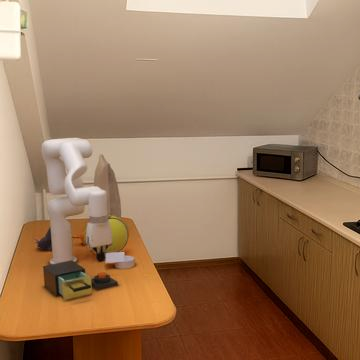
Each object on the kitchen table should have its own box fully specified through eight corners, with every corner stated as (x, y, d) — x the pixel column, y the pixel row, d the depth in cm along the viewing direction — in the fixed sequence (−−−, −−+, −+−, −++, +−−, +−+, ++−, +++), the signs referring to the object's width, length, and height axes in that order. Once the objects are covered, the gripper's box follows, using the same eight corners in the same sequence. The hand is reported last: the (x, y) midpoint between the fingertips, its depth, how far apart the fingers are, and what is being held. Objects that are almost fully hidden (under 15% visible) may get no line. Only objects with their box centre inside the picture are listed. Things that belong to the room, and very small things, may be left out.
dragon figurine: (87, 231, 291) (38, 226, 279) (83, 253, 291) (34, 249, 280) (84, 226, 300) (36, 221, 289) (80, 248, 301) (32, 244, 290)
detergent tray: (96, 296, 220) (95, 279, 219) (69, 303, 213) (67, 285, 212) (79, 283, 235) (78, 267, 233) (52, 290, 228) (51, 273, 226)
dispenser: (86, 289, 230) (85, 268, 229) (56, 296, 223) (55, 275, 221) (73, 280, 242) (72, 260, 240) (44, 286, 234) (42, 266, 233)
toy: (77, 253, 280) (73, 195, 275) (116, 246, 293) (114, 190, 288) (95, 265, 262) (91, 203, 256) (136, 256, 274) (134, 197, 269)
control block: (117, 285, 234) (117, 277, 234) (97, 290, 229) (97, 282, 228) (106, 278, 243) (106, 271, 242) (87, 283, 238) (86, 275, 237)
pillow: (125, 240, 302) (121, 162, 295) (99, 243, 298) (94, 164, 291) (116, 222, 343) (112, 153, 336) (93, 224, 339) (89, 154, 331)
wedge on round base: (106, 269, 255) (134, 267, 257) (105, 255, 254) (134, 254, 256) (106, 263, 263) (134, 261, 266) (106, 250, 262) (134, 248, 265)
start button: (107, 277, 235) (107, 273, 235) (99, 279, 233) (99, 275, 233) (104, 275, 238) (104, 271, 238) (96, 277, 236) (96, 273, 235)
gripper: (111, 214, 239) (113, 255, 242) (78, 220, 230) (80, 262, 233) (119, 218, 233) (120, 259, 236) (85, 223, 224) (87, 267, 227)
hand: (100, 260), depth 235 cm, fingers closed
